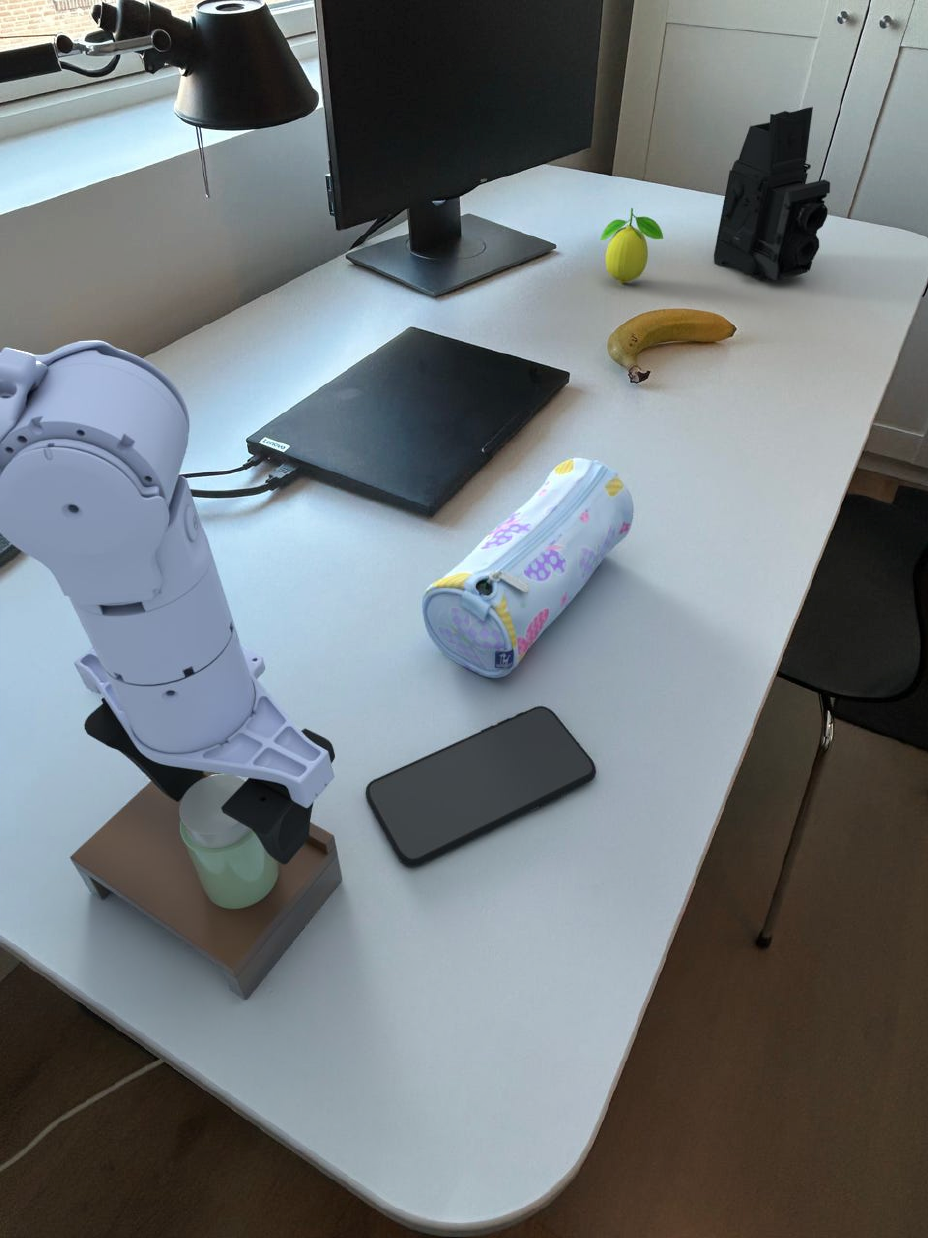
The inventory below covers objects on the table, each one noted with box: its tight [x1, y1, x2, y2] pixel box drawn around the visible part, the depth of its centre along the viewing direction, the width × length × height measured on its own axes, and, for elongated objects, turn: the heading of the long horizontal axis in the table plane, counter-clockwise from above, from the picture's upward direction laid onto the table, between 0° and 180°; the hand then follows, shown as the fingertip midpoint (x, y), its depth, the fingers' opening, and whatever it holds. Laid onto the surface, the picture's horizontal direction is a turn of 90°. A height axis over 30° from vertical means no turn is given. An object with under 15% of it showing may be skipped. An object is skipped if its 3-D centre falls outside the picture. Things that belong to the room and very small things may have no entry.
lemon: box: [599, 207, 664, 285], centre depth 117 cm, size 7×6×10 cm
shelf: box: [69, 771, 343, 1001], centre depth 53 cm, size 9×13×5 cm
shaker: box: [179, 774, 279, 909], centre depth 49 cm, size 4×4×7 cm
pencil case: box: [421, 457, 635, 679], centre depth 71 cm, size 21×9×10 cm, turn 145°
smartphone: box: [365, 705, 597, 868], centre depth 60 cm, size 7×1×15 cm
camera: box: [713, 106, 831, 282], centre depth 116 cm, size 10×14×20 cm
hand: (237, 816), depth 47 cm, fingers open, 7 cm apart
